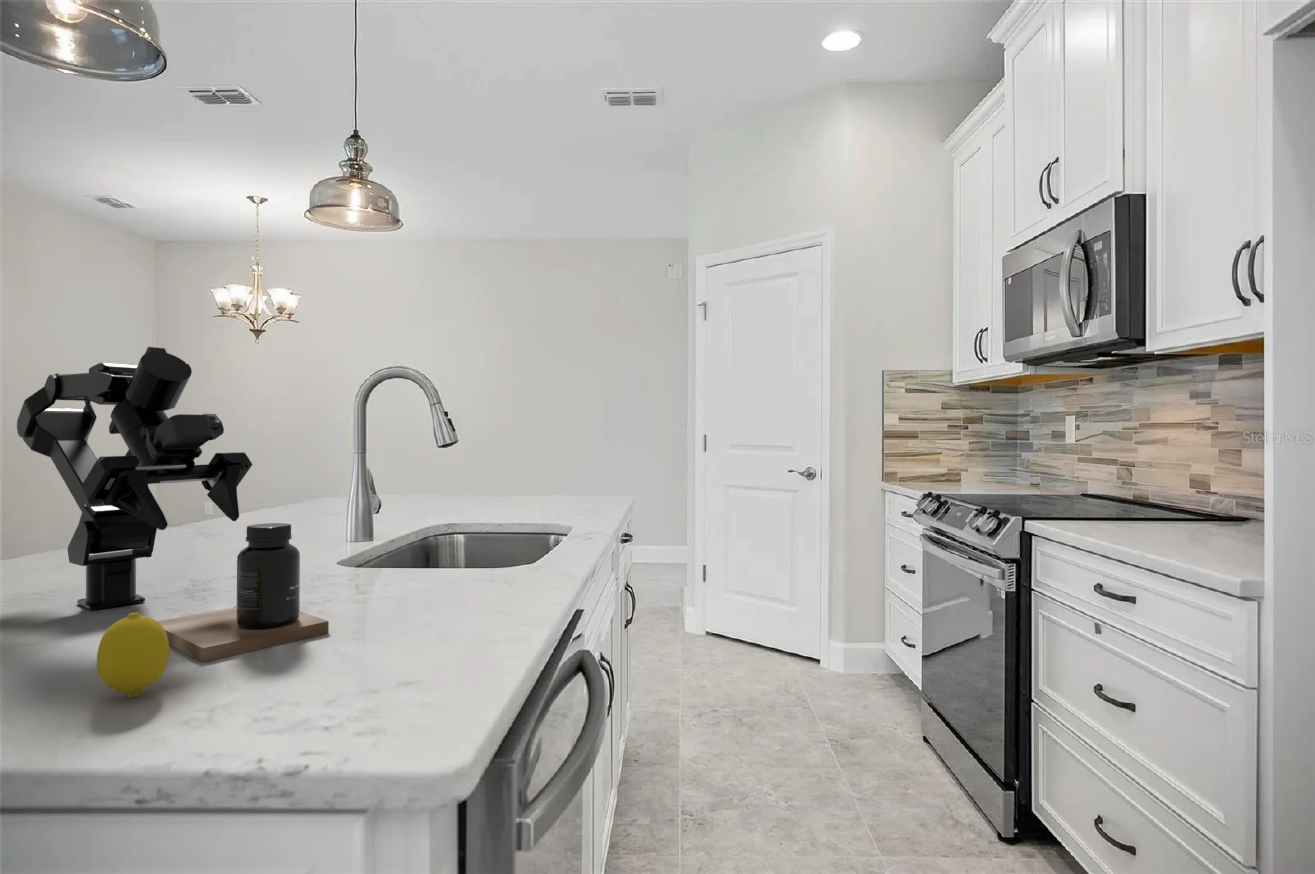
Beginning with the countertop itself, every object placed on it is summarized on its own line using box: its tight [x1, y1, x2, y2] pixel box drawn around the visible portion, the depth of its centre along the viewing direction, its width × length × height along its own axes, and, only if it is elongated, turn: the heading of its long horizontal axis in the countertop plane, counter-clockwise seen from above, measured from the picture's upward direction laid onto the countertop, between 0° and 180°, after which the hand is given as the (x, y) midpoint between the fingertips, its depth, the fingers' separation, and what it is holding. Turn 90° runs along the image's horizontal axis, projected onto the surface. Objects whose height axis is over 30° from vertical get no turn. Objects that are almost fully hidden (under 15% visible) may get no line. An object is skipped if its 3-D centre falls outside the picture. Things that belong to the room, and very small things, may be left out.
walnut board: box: [156, 606, 330, 663], centre depth 88 cm, size 16×14×2 cm
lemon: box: [96, 612, 170, 698], centre depth 68 cm, size 6×6×8 cm
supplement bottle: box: [236, 522, 301, 629], centre depth 88 cm, size 7×7×12 cm
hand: (202, 523), depth 92 cm, fingers open, 9 cm apart
